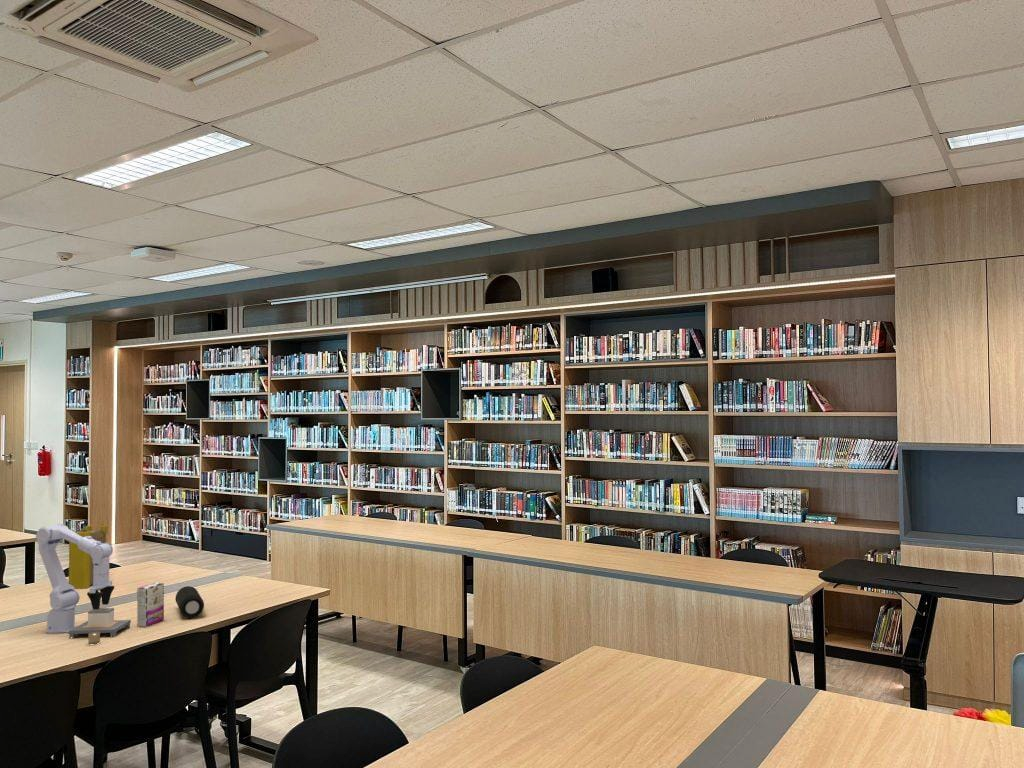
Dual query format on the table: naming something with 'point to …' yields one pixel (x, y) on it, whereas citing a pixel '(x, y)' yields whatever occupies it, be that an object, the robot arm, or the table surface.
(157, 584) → the candy bar box
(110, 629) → the stand
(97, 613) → the housing
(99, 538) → the decorative book
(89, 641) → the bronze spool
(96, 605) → the robot arm
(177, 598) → the portable speaker
